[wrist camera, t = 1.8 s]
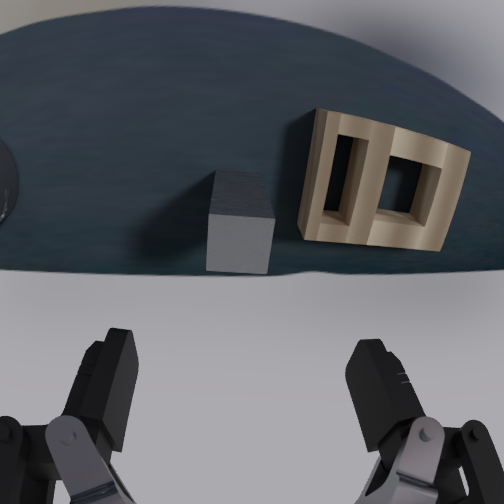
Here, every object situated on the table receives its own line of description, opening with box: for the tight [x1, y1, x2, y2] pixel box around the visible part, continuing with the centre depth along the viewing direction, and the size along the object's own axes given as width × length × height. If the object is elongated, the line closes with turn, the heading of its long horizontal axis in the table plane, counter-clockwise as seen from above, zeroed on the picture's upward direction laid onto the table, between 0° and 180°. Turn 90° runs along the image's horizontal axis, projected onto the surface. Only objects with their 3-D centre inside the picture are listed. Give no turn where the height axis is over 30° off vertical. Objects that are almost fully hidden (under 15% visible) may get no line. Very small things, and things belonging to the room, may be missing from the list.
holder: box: [297, 108, 471, 251], centre depth 24 cm, size 14×10×3 cm
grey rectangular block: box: [206, 170, 275, 274], centre depth 21 cm, size 4×4×9 cm
